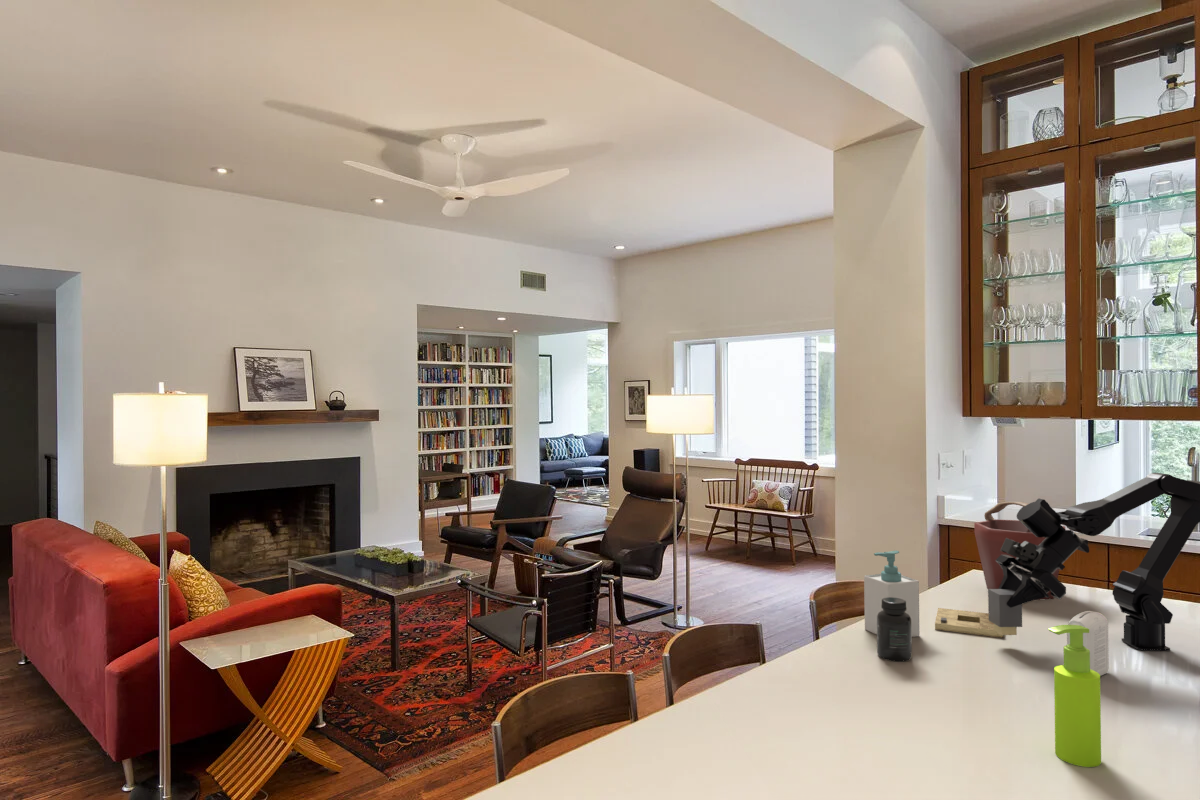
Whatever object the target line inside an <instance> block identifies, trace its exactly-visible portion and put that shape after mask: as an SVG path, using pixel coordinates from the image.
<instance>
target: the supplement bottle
mask: <svg viewBox="0 0 1200 800" xmlns="http://www.w3.org/2000/svg"><path fill="white" fill-rule="evenodd" d="M881 608H882V609H883V610H882V611H880V612H879V613H878V614H877V634H876V649H877V650H876V651H877V652H876V653H877V656H879V657H880V658H882V659H883V660H885V661H890V662H898V663H900V662H903V663H904V662H909V661H910V660H911V659H912V654H913V653H912V652H913V648H912V647H913V644H912V642H913V640H912V638H913V637H912V629H911V617H910V616H909V614H907V613H906V612H905V611H906V610H907V607H906V601H905V600H903V599H900V598H893V597H887V598H883V599H882V605H881Z"/></svg>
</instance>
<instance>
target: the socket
mask: <svg viewBox="0 0 1200 800" xmlns="http://www.w3.org/2000/svg"><path fill="white" fill-rule="evenodd" d="M935 616H936V617H935V622H934V630H936V631H945V632H954V633H959V634H961V633H962V634H970V635H976V636H985V637H992V638H1000V639H1001V638H1004V637H1003V636H1004V635H1001V634H999V633H998V632H996V631H994V623H992V622H991V621H989V612H988V613H986V612H979V611H977V612H976V611H968V610H959V609H953V608H952V609H951V608H942V607H938V608H937V613H936V615H935Z"/></svg>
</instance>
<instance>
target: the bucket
mask: <svg viewBox="0 0 1200 800" xmlns="http://www.w3.org/2000/svg"><path fill="white" fill-rule="evenodd" d="M1028 504H1030V502H1024V501H1002V502H998V503H997V504H995V505H994V506H993V507H991V508H989V509H988V510H986V512H984V514H983V515H984V520H982V521H976V522H974V523H973V524H974V536H975V541H976V545H977V550H978V555H979V559H980V563H981V567H982V572H983V576H984V582H985V585H986V589H987V590H988V589H998V588H999V586H1000V584H1001V582H1002V579H1003V576H1004V575H1003V569H1002V568H1001V566H1000V565H999V564H998V563H997V562H996V559H997V558H998V557H999V556H1000V555H1009V556H1011V557H1014V556H1012V555H1010V554H1007V553H1006V552H1005V553H1004V552H1002V551H1000V550H1001V548H1002V545H1003V543H1004V541H1005V539H1006V538H1008V539H1010V540H1013V541H1016V542H1018V543H1023V542H1024V541H1027V542H1030V543H1032V544H1035V545H1039V544H1040V543H1041V542H1042V541H1043V540H1044V539H1045V537H1036V536H1035V535H1034V534H1033V533H1032V532H1031V531H1030V530H1029V529H1028V528H1027V527H1026V526H1024V525H1023V524H1022V523H1021V522H1020V521H1019V520H1018V519H1017V520H1015V519H996V518H994V517H993V515H992V514H996V513H1000V512H1001V511H1003V510H1004V509H1005V508H1006V507H1007V506H1010V505H1016V506H1017V505H1018V506H1020V507H1025V506H1026V505H1028ZM1061 526H1062V527H1063V528H1064V529H1066V526H1065V525H1061ZM1014 558H1015V559H1016V558H1017V557H1014ZM1020 564H1021V563H1020ZM1021 565H1022V564H1021ZM1059 573H1060V569H1057V570H1056V571H1055V572H1054V573H1053V575H1054V576H1055V577H1056V578H1057V579H1058V578H1059ZM1058 580H1059V579H1058ZM1047 594H1048V595H1049V597H1048V598H1047V597H1044V598H1040V599H1045V600H1054V599H1055V597H1053V596H1052V595H1051V591H1049V592H1048V593H1047ZM1040 599H1037V600H1038V601H1041V600H1040ZM1037 600H1036V601H1037Z"/></svg>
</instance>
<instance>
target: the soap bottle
mask: <svg viewBox="0 0 1200 800" xmlns="http://www.w3.org/2000/svg"><path fill="white" fill-rule="evenodd" d="M897 554H900V551H899V550H891V551H884V552H880V551H879V552H875V553H873V555H874V556H876V557H878V556H879V557H883V558H886V561H887V563H888V564H885V565H884V568H883V569H884V570H881V572H880V573H876V574H867V575H864V576H863V587H864V588H863V591H864V592H863V593H864V595H863V596H864V598H863V599H864V601H863V602H864V630H866V631H868V632H870V633H872V634H875V635H877V614H878V613H879V612H880V611H882V610H883V609H882V608H881V605H882V599H883V598H887V597H893V598H900V599H903V600H905V601H906V607H907V610H906V611H905V612H906V613H907V614H909V616H910V617H911V629H912V638H915V637H920V632H921V631H920V628H921V627H920V581H919V580H918V579H915V578H912V577H908V576H905V575H903V574H902V573H901V572H900V571H899V569H898V566H896V565H895V564H894V563H895V561H896V555H897Z"/></svg>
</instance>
